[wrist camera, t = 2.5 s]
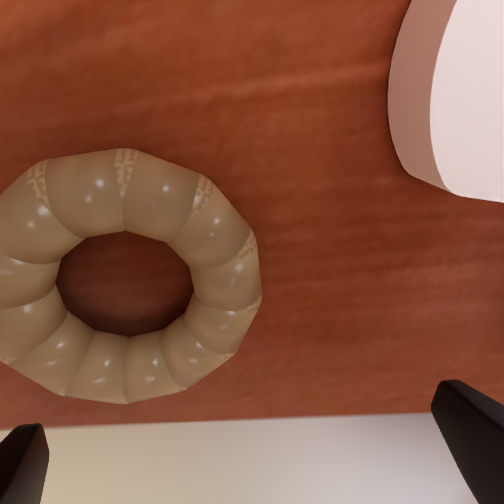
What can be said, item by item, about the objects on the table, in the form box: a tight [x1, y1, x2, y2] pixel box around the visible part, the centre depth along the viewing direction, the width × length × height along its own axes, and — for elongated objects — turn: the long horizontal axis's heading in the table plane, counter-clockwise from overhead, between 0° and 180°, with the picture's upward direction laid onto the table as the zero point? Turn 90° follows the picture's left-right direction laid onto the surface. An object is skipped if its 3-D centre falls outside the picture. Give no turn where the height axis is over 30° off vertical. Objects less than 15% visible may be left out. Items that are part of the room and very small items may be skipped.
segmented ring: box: [0, 148, 262, 404], centre depth 12 cm, size 9×9×2 cm
